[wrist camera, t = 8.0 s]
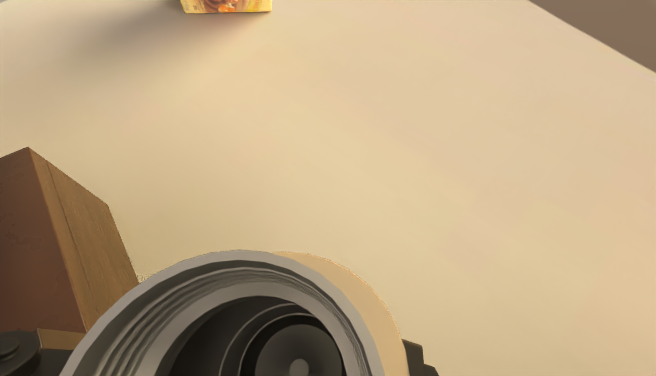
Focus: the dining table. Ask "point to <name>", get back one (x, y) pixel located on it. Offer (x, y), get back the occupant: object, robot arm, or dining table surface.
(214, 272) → the silver metal bottle
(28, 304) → the shelf
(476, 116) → the dining table surface
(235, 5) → the candy box
